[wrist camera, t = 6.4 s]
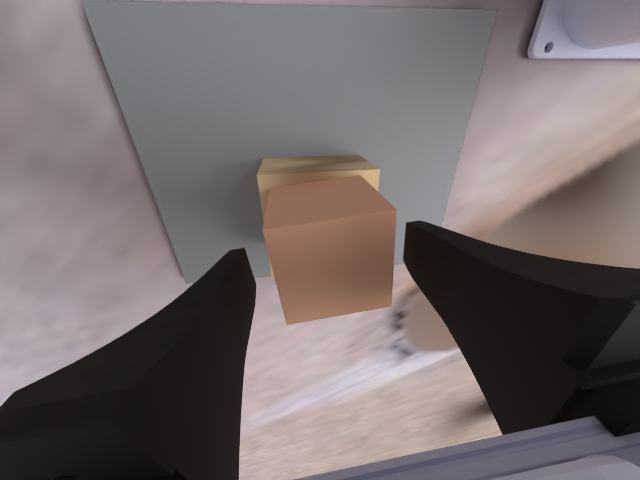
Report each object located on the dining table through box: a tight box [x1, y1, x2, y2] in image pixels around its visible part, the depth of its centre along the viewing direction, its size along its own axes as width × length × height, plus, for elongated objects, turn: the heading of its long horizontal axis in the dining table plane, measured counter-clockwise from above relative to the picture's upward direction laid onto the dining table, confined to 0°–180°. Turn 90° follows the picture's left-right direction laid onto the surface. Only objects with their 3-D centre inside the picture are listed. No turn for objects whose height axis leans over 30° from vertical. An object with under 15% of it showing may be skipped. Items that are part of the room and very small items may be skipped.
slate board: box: [81, 0, 497, 284], centre depth 16 cm, size 20×16×1 cm
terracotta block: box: [262, 175, 397, 325], centre depth 11 cm, size 4×4×4 cm
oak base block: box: [257, 155, 380, 277], centre depth 15 cm, size 6×6×4 cm
